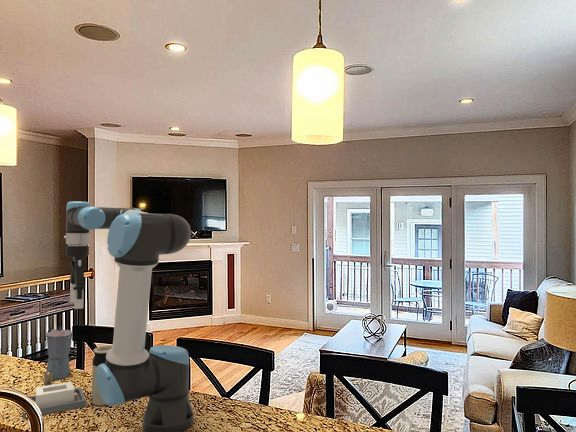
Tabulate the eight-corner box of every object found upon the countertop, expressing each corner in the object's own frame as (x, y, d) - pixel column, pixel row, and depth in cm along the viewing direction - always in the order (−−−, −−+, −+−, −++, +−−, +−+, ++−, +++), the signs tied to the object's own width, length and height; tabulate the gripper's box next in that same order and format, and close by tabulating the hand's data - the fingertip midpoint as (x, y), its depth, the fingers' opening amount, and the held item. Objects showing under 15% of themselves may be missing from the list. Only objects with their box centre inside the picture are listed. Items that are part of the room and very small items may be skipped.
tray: (86, 406, 148) (86, 400, 148) (22, 418, 138) (23, 412, 138) (81, 393, 159) (81, 387, 159) (22, 403, 149) (22, 397, 149)
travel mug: (86, 405, 149) (87, 351, 149) (100, 396, 157) (101, 344, 157) (109, 407, 148) (110, 352, 148) (121, 397, 156) (122, 346, 156)
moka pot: (57, 383, 168) (58, 330, 168) (33, 376, 175) (34, 325, 176) (80, 376, 176) (80, 325, 176) (56, 369, 184) (57, 320, 184)
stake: (53, 392, 159) (53, 372, 160) (43, 394, 158) (43, 374, 158) (52, 389, 162) (52, 370, 162) (42, 391, 161) (42, 371, 161)
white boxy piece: (75, 395, 156) (75, 381, 156) (78, 403, 149) (78, 388, 149) (35, 402, 149) (35, 387, 149) (36, 411, 142) (36, 395, 142)
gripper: (62, 243, 166) (61, 300, 166) (69, 247, 145) (68, 312, 145) (84, 243, 170) (83, 298, 170) (94, 246, 149) (93, 310, 149)
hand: (76, 305), depth 158 cm, fingers open, 13 cm apart
